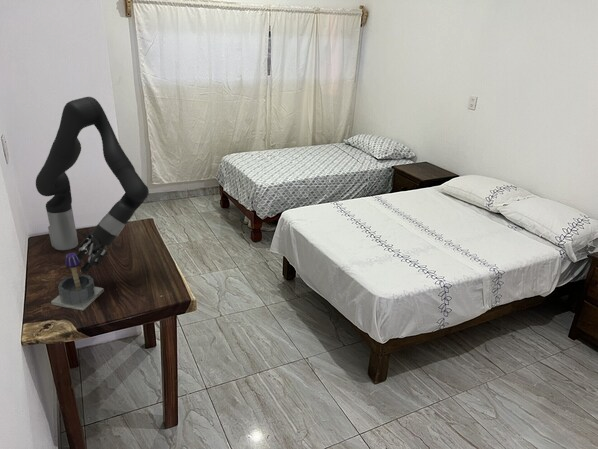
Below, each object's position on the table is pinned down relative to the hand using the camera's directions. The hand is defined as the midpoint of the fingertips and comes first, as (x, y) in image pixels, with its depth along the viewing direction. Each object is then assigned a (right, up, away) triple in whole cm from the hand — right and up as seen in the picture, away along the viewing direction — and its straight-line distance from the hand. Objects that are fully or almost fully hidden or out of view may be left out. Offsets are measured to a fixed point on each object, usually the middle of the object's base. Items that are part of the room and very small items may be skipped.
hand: (79, 266), depth 148 cm
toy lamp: (-2, -11, +4) cm, 11 cm away
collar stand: (-2, -11, +4) cm, 12 cm away
